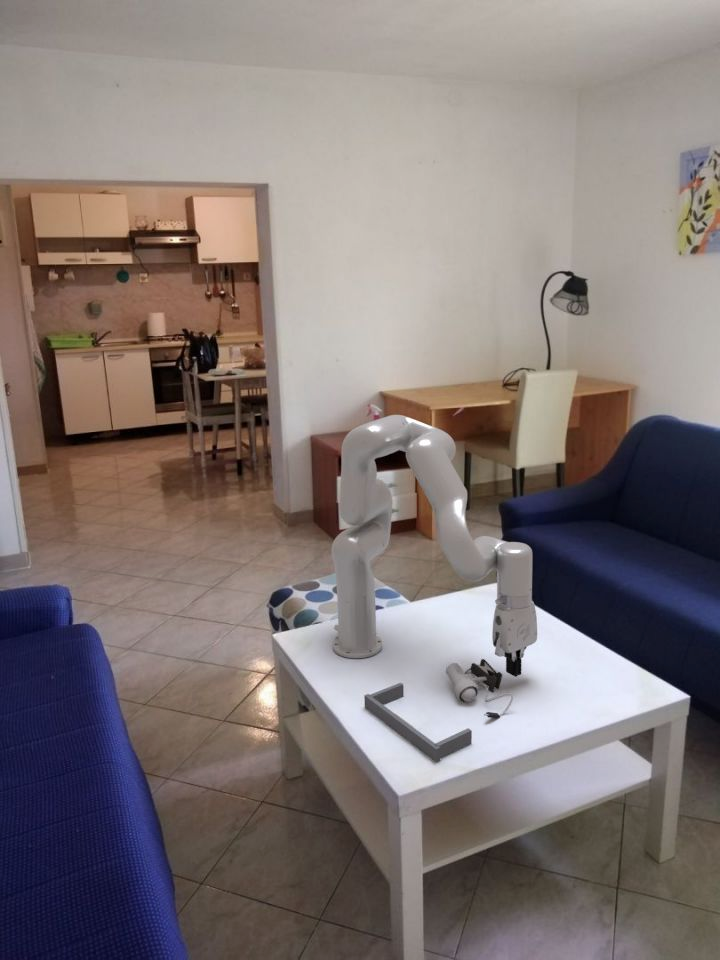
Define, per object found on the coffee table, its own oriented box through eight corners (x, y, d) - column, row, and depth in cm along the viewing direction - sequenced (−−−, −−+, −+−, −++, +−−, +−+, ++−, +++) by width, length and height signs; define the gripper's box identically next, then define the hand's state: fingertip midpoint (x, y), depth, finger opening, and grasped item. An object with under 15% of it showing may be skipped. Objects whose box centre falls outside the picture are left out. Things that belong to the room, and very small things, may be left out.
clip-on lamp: (521, 725, 156) (484, 670, 171) (528, 702, 153) (489, 648, 168) (472, 733, 152) (438, 675, 167) (478, 709, 149) (443, 653, 164)
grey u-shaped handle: (364, 707, 159) (364, 695, 158) (399, 693, 164) (399, 681, 163) (436, 763, 139) (436, 749, 139) (473, 745, 144) (473, 731, 144)
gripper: (502, 612, 154) (501, 691, 159) (550, 594, 162) (548, 669, 167) (477, 601, 160) (477, 677, 165) (525, 584, 168) (524, 657, 173)
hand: (513, 673), depth 166 cm, fingers closed
